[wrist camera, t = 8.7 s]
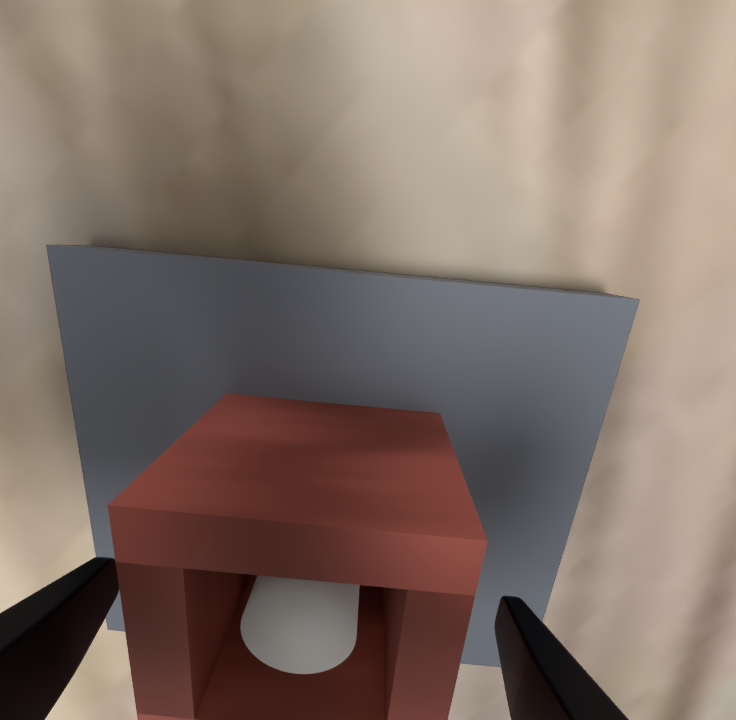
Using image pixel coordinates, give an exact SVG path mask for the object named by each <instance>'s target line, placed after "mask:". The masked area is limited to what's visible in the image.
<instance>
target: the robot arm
mask: <svg viewBox="0 0 736 720" xmlns="http://www.w3.org/2000/svg"><path fill="white" fill-rule="evenodd" d="M118 593H119V583H118V576H117V569H116V562H115V559H114V558H108V557H96V558H93V559H91V560H90V561H88V562H86V563H85V564H83V565H81V566H79V567H78V568H76V569H74V570H73V571H71V572H69V573H68V574H66V575H64V576H63V577H61V578H59V579H57V580H56V581H54V582H52V583H51V584H49V585H47V586H46V587H44V588H42V589H41V590H39V591H37V592H35V593H34V594H32V595H30V596H29V597H27V598H25V599H24V600H22V601H20V602H19V603H17V604H15V605H13V606H12V607H10V608H8V609H7V610H5V611H3V612H2V613H0V720H45V718H46V717H47V715H48V714H49V712H50V711H51V709H52V708H53V706H54V705H55V703H56V702H57V700H58V698H59V697H60V695H61V694H62V692H63V691H64V689H65V688H66V686H67V685H68V683H69V681H70V680H71V678H72V677H73V675H74V673H75V672H76V670H77V668H78V667H79V665H80V663H81V661H82V660H83V658H84V656H85V654H86V652H87V650H88V649H89V647H90V645H91V643H92V641H93V639H94V638H95V636H96V634H97V632H98V630H99V628H100V627H101V625H102V623H103V621H104V619H105V618H106V616H107V614H108V612H109V610H110V608H111V607H112V605H113V603H114V601H115V599H116V597H117V595H118ZM494 629H495V636H496V642H497V647H498V653H499V658H500V663H501V669H502V674H503V680H504V685H505V690H506V696H507V701H508V706H509V711H510V716H511V720H629V719H628V718H627V717H626V716H625V715H624V714H623V713H622V711H621V710H620V709H619V708H618V707H617V706H616V705H615V704H614V702H613V701H612V700H611V699H610V698H609V697H608V696H607V695H606V693H605V692H604V691H603V690H602V689H601V688H600V687H599V685H598V684H597V683H596V682H595V681H594V680H593V679H592V678H591V676H590V675H589V674H588V673H587V672H586V671H585V670H584V669H583V667H582V666H581V665H580V664H579V663H578V662H577V661H576V659H575V658H574V657H573V656H572V655H571V654H570V653H569V652H568V650H567V649H566V648H565V647H564V646H563V645H562V644H561V643H560V641H559V640H558V639H557V638H556V637H555V636H554V635H553V634H552V632H551V631H550V630H549V629H548V628H547V627H546V626H545V624H544V623H543V622H542V621H541V620H540V619H539V618H538V617H537V615H536V614H535V613H534V612H533V611H532V610H531V609H530V608H529V606H528V605H527V604H526V603H525V602H524V601H523V600H522V599H521V598H519V597H516V596H502V597H501V599H500V602H499V606H498V610H497V614H496V618H495V623H494Z"/></svg>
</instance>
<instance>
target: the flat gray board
mask: <svg viewBox="0 0 736 720" xmlns="http://www.w3.org/2000/svg"><path fill="white" fill-rule="evenodd" d="M46 246H47V253H48V259H49V265H50V271H51V278H52V284H53V290H54V296H55V303H56V309H57V315H58V321H59V328H60V334H61V340H62V346H63V353H64V359H65V365H66V371H67V378H68V384H69V390H70V396H71V403H72V409H73V415H74V422H75V428H76V434H77V440H78V447H79V453H80V459H81V465H82V472H83V478H84V484H85V490H86V497H87V503H88V509H89V515H90V522H91V528H92V534H93V540H94V547H95V553H96V557H108V558H114V559H115V555H114V548H113V541H112V533H111V526H110V519H109V512H108V504H109V503H110V502H111V501H112V500H114V499H115V498H116V497H117V496H118V495H119V494H120V493H121V492H122V491H123V490H124V489H125V488H126V487H127V486H128V485H130V484H131V483H132V482H133V481H134V480H135V479H136V478H137V477H138V476H139V475H140V474H141V473H142V472H143V471H144V470H146V469H147V468H148V467H149V466H150V465H151V464H152V463H153V462H154V461H155V460H156V459H157V458H158V457H159V456H160V455H161V454H163V453H164V452H165V451H166V450H167V449H168V448H169V447H170V446H171V445H172V444H173V443H174V442H175V441H176V440H177V439H179V438H180V437H181V436H182V435H183V434H184V433H185V432H186V431H187V430H188V429H189V428H190V427H191V426H192V425H193V424H195V423H196V422H197V421H198V420H199V419H200V418H201V417H202V416H203V415H204V414H205V413H206V412H207V411H208V410H209V409H210V408H212V407H213V406H214V405H215V404H216V403H217V402H218V401H219V400H220V399H221V398H222V397H223V396H224V395H225V394H226V393H228V394H239V395H250V396H261V397H271V398H282V399H293V400H304V401H314V402H325V403H336V404H347V405H357V406H368V407H379V408H390V409H400V410H411V411H422V412H433V413H440V415H441V417H442V420H443V423H444V425H445V428H446V431H447V433H448V436H449V439H450V441H451V444H452V447H453V449H454V452H455V455H456V457H457V460H458V463H459V466H460V468H461V471H462V474H463V476H464V479H465V482H466V484H467V487H468V490H469V492H470V495H471V498H472V500H473V503H474V506H475V508H476V511H477V514H478V516H479V519H480V522H481V524H482V527H483V530H484V532H485V535H486V538H487V540H488V542H487V546H486V550H485V555H484V559H483V564H482V568H481V573H480V577H479V582H478V586H477V590H476V595H475V599H474V604H473V608H472V613H471V617H470V621H469V626H468V630H467V635H466V639H465V644H464V648H463V652H462V657H461V661H460V663H463V664H473V665H484V666H494V667H501V663H500V658H499V653H498V647H497V642H496V636H495V629H494V623H495V618H496V614H497V610H498V606H499V602H500V599H501V597H502V596H516V597H519V598H521V599H522V600H523V601H524V602H525V603H526V604H527V605H528V606H529V608H530V609H531V610H532V611H533V612H534V613H535V614H536V615H537V617H538V618H539V619H540V620H541V621H543V617H544V614H545V611H546V607H547V604H548V601H549V598H550V594H551V591H552V588H553V584H554V581H555V578H556V574H557V571H558V568H559V565H560V561H561V558H562V555H563V551H564V548H565V545H566V542H567V538H568V535H569V532H570V528H571V525H572V522H573V518H574V515H575V512H576V509H577V505H578V502H579V499H580V495H581V492H582V489H583V485H584V482H585V479H586V476H587V472H588V469H589V466H590V462H591V459H592V456H593V452H594V449H595V446H596V443H597V439H598V436H599V433H600V429H601V426H602V423H603V420H604V416H605V413H606V410H607V406H608V403H609V400H610V396H611V393H612V390H613V387H614V383H615V380H616V377H617V373H618V370H619V367H620V363H621V360H622V357H623V354H624V350H625V347H626V344H627V340H628V337H629V334H630V331H631V327H632V324H633V321H634V317H635V314H636V311H637V307H638V304H639V301H640V300H639V299H633V298H628V297H623V296H618V295H612V294H607V293H597V292H586V291H575V290H565V289H554V288H543V287H532V286H521V285H511V284H500V283H489V282H478V281H467V280H457V279H446V278H435V277H424V276H413V275H403V274H392V273H381V272H370V271H359V270H349V269H338V268H327V267H316V266H305V265H295V264H284V263H273V262H262V261H251V260H241V259H230V258H219V257H208V256H197V255H187V254H176V253H165V252H154V251H143V250H133V249H122V248H111V247H100V246H89V245H46ZM359 586H360V585H355V584H345V583H334V582H323V581H313V580H302V579H291V578H281V577H270V576H260V575H257V578H256V580H255V583H254V586H253V589H252V591H251V594H250V597H249V599H248V602H247V605H246V607H245V610H244V613H243V615H242V619H241V626H240V628H241V635H242V638H243V640H244V643H245V645H246V646H247V648H248V649H249V650H250V651H251V653H252V654H253V655H254V656H255V657H257V658H258V659H259V660H260V661H262V662H263V663H265V664H267V665H268V666H271V667H273V668H275V669H278V670H281V671H284V672H289V673H295V674H313V673H319V672H323V671H326V670H329V669H332V668H334V667H336V666H337V665H339V664H340V663H342V662H343V661H344V660H345V659H346V658H347V657H348V656H349V655H350V654H351V652H352V650H353V649H354V646H355V643H356V638H357V621H358V604H359ZM106 622H107V628H108V630H116V631H125V625H124V618H123V611H122V604H121V597H120V590H119V593H118V595H117V597H116V599H115V601H114V603H113V605H112V607H111V608H110V610H109V612H108V614H107V616H106Z"/></svg>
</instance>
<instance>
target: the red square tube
mask: <svg viewBox="0 0 736 720" xmlns="http://www.w3.org/2000/svg"><path fill="white" fill-rule="evenodd" d="M108 512H109V519H110V526H111V533H112V541H113V548H114V555H115V562H116V569H117V576H118V583H119V590H120V597H121V604H122V611H123V618H124V625H125V632H126V639H127V646H128V653H129V661H130V668H131V675H132V682H133V689H134V696H135V703H136V710H137V717H138V720H447V719H448V715H449V710H450V706H451V701H452V697H453V692H454V688H455V684H456V679H457V675H458V670H459V666H460V661H461V657H462V652H463V648H464V644H465V639H466V635H467V630H468V626H469V621H470V617H471V613H472V608H473V604H474V599H475V595H476V590H477V586H478V582H479V577H480V573H481V568H482V564H483V559H484V555H485V550H486V546H487V542H488V540H487V538H486V535H485V532H484V530H483V527H482V524H481V522H480V519H479V516H478V514H477V511H476V508H475V506H474V503H473V500H472V498H471V495H470V492H469V490H468V487H467V484H466V482H465V479H464V476H463V474H462V471H461V468H460V466H459V463H458V460H457V457H456V455H455V452H454V449H453V447H452V444H451V441H450V439H449V436H448V433H447V431H446V428H445V425H444V423H443V420H442V417H441V415H440V413H433V412H422V411H411V410H400V409H390V408H379V407H368V406H357V405H347V404H336V403H325V402H314V401H304V400H293V399H282V398H271V397H261V396H250V395H239V394H228V393H226V394H225V395H224V396H223V397H222V398H221V399H220V400H219V401H218V402H217V403H216V404H215V405H214V406H213V407H212V408H210V409H209V410H208V411H207V412H206V413H205V414H204V415H203V416H202V417H201V418H200V419H199V420H198V421H197V422H196V423H195V424H193V425H192V426H191V427H190V428H189V429H188V430H187V431H186V432H185V433H184V434H183V435H182V436H181V437H180V438H179V439H177V440H176V441H175V442H174V443H173V444H172V445H171V446H170V447H169V448H168V449H167V450H166V451H165V452H164V453H163V454H161V455H160V456H159V457H158V458H157V459H156V460H155V461H154V462H153V463H152V464H151V465H150V466H149V467H148V468H147V469H146V470H144V471H143V472H142V473H141V474H140V475H139V476H138V477H137V478H136V479H135V480H134V481H133V482H132V483H131V484H130V485H128V486H127V487H126V488H125V489H124V490H123V491H122V492H121V493H120V494H119V495H118V496H117V497H116V498H115V499H114V500H112V501H111V502H110V503H109V504H108ZM257 575H260V576H270V577H281V578H291V579H302V580H313V581H323V582H334V583H345V584H355V585H360V586H359V604H358V621H357V638H356V643H355V646H354V649H353V650H352V652H351V654H350V655H349V656H348V657H347V658H346V659H345V660H344V661H343V662H342V663H340V664H339V665H337V666H336V667H334V668H332V669H329V670H326V671H323V672H319V673H313V674H295V673H289V672H284V671H281V670H278V669H275V668H273V667H271V666H268V665H267V664H265V663H263V662H262V661H260V660H259V659H258V658H257V657H255V656H254V655H253V654H252V653H251V651H250V650H249V649H248V648H247V646H246V645H245V643H244V640H243V638H242V635H241V628H240V626H241V619H242V615H243V613H244V610H245V607H246V605H247V602H248V599H249V597H250V594H251V591H252V589H253V586H254V583H255V580H256V578H257Z"/></svg>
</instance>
